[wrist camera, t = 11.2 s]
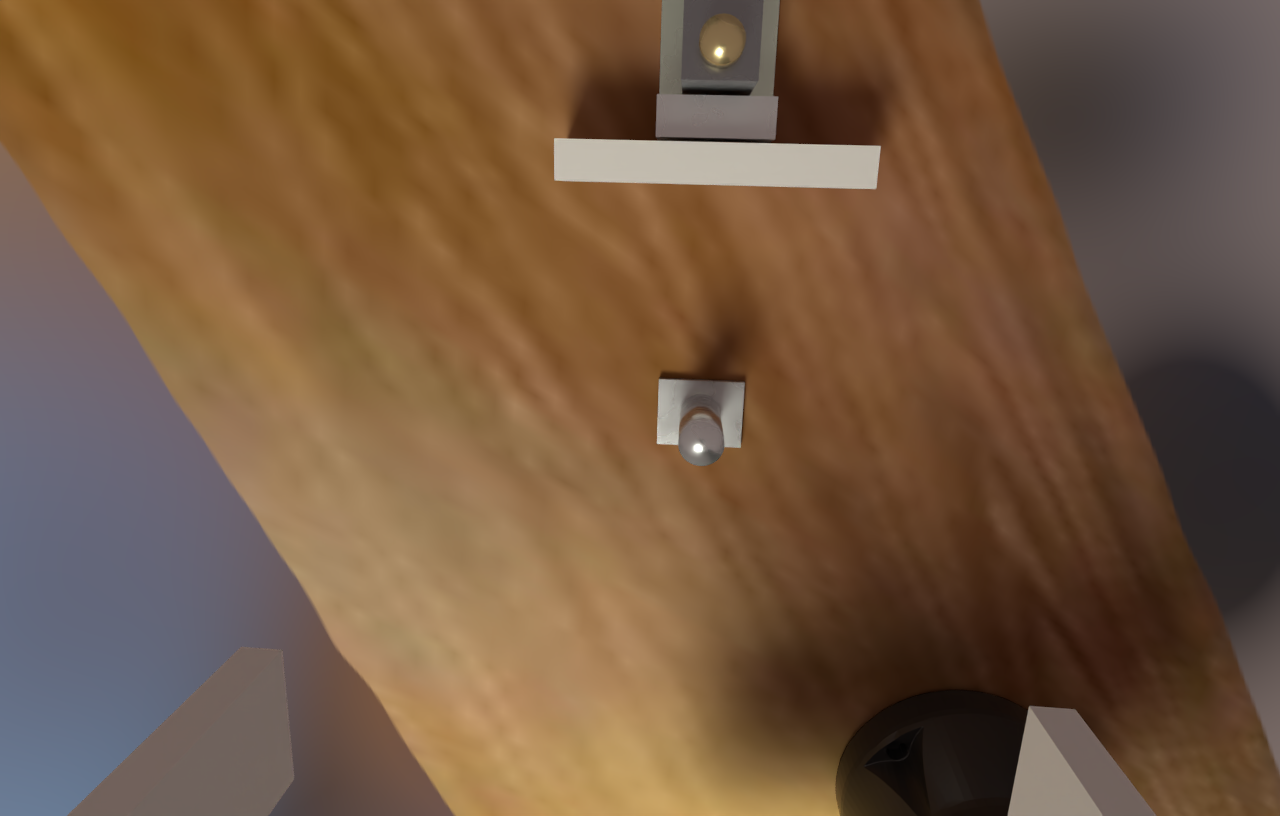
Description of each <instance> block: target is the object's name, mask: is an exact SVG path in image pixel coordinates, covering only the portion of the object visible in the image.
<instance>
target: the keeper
mask: <svg viewBox="0 0 1280 816" xmlns="http://www.w3.org/2000/svg"><path fill="white" fill-rule="evenodd" d="M779 5H780V0H764V4H763V20H762V35H761V51H760V66H759V81H758V83H757V84H756V86H755V87H754V89H753V91H752V92H751V94H750V95H749V96H728V95H682V84H681V68H682V42H683V16H684V0H662V22H661V55H660V88H659V94H657V109H656V138H657V139H658V140H668V141H711V142H754V143H770V142H772V141H773V140H775V137H776V123H777V108H778V96H773V91H774V77H775V62H776V48H777V33H778V19H779Z"/></svg>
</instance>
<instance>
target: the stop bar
mask: <svg viewBox="0 0 1280 816" xmlns="http://www.w3.org/2000/svg"><path fill="white" fill-rule="evenodd" d="M763 4H764V0H684V16H683V42H682V68H681V84H682V95H728V96H749V95H750V94H751V92H752V91H753V89H754V87H755V86H756V84H757V83H758V81H759V66H760V51H761V35H762V20H763Z"/></svg>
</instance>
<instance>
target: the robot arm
mask: <svg viewBox="0 0 1280 816" xmlns="http://www.w3.org/2000/svg"><path fill="white" fill-rule="evenodd" d="M293 780H294V770H293V760H292V749H291V739H290V727H289V717H288V707H287V695H286V685H285V673H284V663H283V653H282V650H275V649H261V648H248V647H241V648H240V649H239V650H238V651H237V652H236V653H234V655H232V656H231V657H230V659H228V660H227V661H226V662H225V663H224V664H223V665H222V666H221V667H220V668H219V669H218V670H217V671H216V672H215V673H214V674H213V675H212V676H211V677H210V678H209V679H208V680H207V681H206V682H205V683H204V684H203V685H201V686H200V687H199V688H198V689H197V690H196V691H195V692H194V693H193V694H192V695H191V696H190V697H189V698H188V699H187V700H186V701H185V702H184V703H183V704H182V705H181V706H180V707H179V708H178V709H177V710H176V711H175V712H174V713H173V714H172V715H170V716H169V717H168V719H167V720H165V721H164V722H163V723H162V724H161V725H160V726H159V727H158V728H157V729H156V730H155V731H154V732H153V733H152V734H151V735H150V736H149V737H148V738H147V739H146V740H145V741H144V742H143V743H142V744H141V745H140V746H138V747H137V749H135V750H134V751H133V752H132V753H131V754H130V755H129V756H128V757H127V758H126V759H125V760H124V761H123V762H122V763H121V764H120V765H119V766H118V767H117V768H116V769H115V770H114V771H113V772H112V773H111V774H110V775H109V776H108V777H107V778H105V779H104V780H103V781H102V782H101V783H100V784H99V785H98V786H97V787H96V788H95V789H94V790H93V791H92V792H91V793H90V794H89V795H88V796H87V797H86V798H85V799H84V800H83V801H82V802H81V803H80V804H79V805H78V806H77V807H76V808H75V809H74V810H72V811H71V812H70V813H69V814H68V816H268V815H269V814H270V813H271V811H272V810H273V808H274V807H275V805H276V804H277V803H278V801H279V800H280V798H281V797H282V795H283V794H284V793H285V791H286V790H287V788H288V787H289V785H290V784H291V783H292V781H293ZM836 799H837V804H838V808H839V812H840V816H1156V815H1155V813H1154V812H1153V811H1152V809H1151V808H1150V807H1149V805H1148V804H1147V803H1146V801H1145V800H1144V799H1143V798H1142V796H1141V795H1140V794H1139V792H1138V791H1137V790H1136V788H1135V787H1134V786H1133V784H1132V783H1131V782H1130V780H1129V779H1128V778H1127V777H1126V775H1125V774H1124V773H1123V771H1122V770H1121V769H1120V767H1119V766H1118V765H1117V763H1116V762H1115V761H1114V759H1113V758H1112V757H1111V756H1110V754H1109V753H1108V752H1107V750H1106V749H1105V748H1104V746H1103V745H1102V744H1101V742H1100V741H1099V740H1098V738H1097V737H1096V736H1095V734H1094V733H1093V732H1092V731H1091V729H1090V728H1089V727H1088V725H1087V724H1086V723H1085V721H1084V720H1083V719H1082V717H1081V716H1080V715H1079V713H1078V712H1077V711H1076V710H1075V709H1065V708H1052V707H1038V706H1029V709H1028V711H1027V710H1026V709H1024V708H1023V707H1021V706H1019V705H1017V704H1015V703H1013V702H1011V701H1009V700H1006V699H1004V698H1001V697H998V696H994V695H991V694H986V693H982V692H975V691H964V690H950V691H938V692H932V693H927V694H922V695H919V696H915V697H912V698H909V699H906V700H904V701H901V702H899V703H897V704H895V705H893V706H891V707H889V708H887V709H885V710H884V711H882V712H881V713H879V714H878V715H876V716H875V717H874V718H872V719H871V720H870V721H869V722H867V723H866V724H865V725H864V726H863V727H862V728H861V729H860V730H859V731H858V732H857V734H856V735H855V736H854V737H853V739H852V740H851V742H850V743H849V745H848V746H847V748H846V750H845V752H844V754H843V756H842V758H841V761H840V764H839V767H838V771H837V776H836Z"/></svg>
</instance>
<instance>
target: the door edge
mask: <svg viewBox="0 0 1280 816" xmlns="http://www.w3.org/2000/svg"><path fill="white" fill-rule="evenodd" d="M880 149H881V146H861V145H819V144H776V143H733V142H691V141H648V140H605V139H563V138H554V180H558V181H583V182H621V183H659V184H696V185H734V186H772V187H810V188H847V189H876V186H877V177H878V167H879V158H880Z"/></svg>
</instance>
